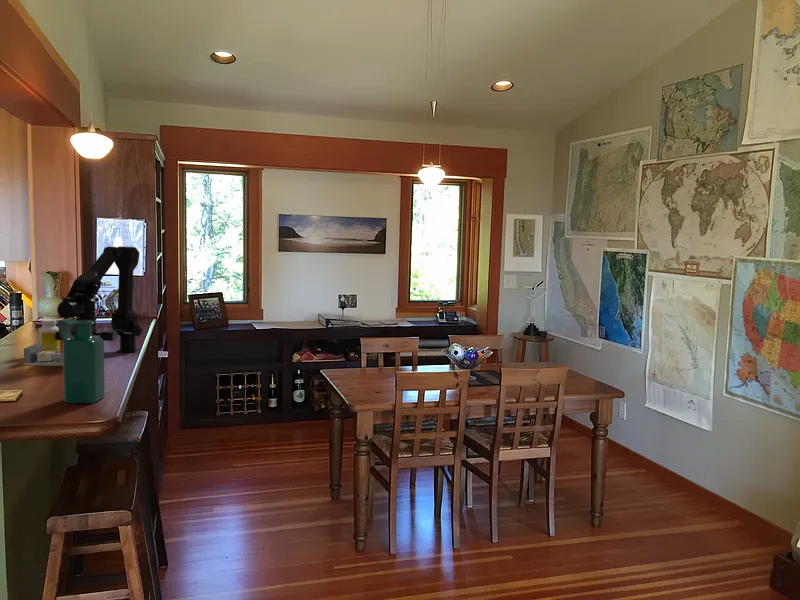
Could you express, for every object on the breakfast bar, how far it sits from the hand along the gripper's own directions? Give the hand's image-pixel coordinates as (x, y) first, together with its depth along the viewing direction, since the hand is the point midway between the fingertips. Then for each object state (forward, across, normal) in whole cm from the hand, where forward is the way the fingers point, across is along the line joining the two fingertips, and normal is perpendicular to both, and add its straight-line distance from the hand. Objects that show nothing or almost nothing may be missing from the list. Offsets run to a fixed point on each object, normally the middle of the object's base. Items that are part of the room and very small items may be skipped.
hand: (86, 359), depth 214 cm
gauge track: (+1, -11, 0) cm, 11 cm away
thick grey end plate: (0, -8, -1) cm, 8 cm away
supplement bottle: (+1, -17, +12) cm, 21 cm away
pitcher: (+1, +15, -48) cm, 50 cm away
